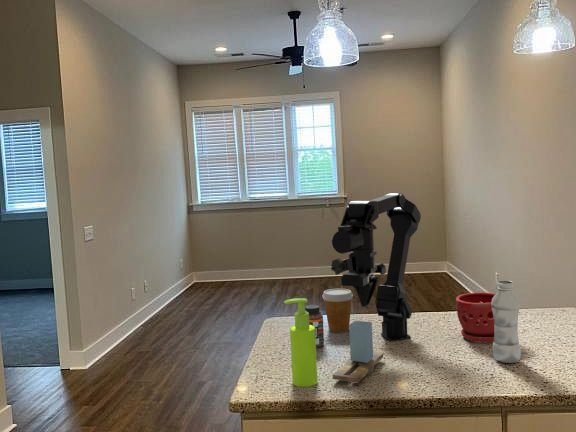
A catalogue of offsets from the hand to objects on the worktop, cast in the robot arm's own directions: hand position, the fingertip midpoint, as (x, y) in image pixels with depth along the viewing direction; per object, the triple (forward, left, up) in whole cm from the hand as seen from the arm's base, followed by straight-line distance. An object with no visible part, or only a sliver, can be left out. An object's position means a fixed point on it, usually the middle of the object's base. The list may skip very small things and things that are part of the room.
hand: (365, 305), depth 139 cm
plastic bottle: (-27, +22, -13) cm, 37 cm away
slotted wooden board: (+8, +11, -13) cm, 19 cm away
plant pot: (-34, +5, -13) cm, 37 cm away
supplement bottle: (+10, -13, -13) cm, 21 cm away
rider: (+7, +9, -12) cm, 16 cm away
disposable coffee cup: (-3, -23, -13) cm, 27 cm away
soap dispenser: (+23, +10, -13) cm, 28 cm away
